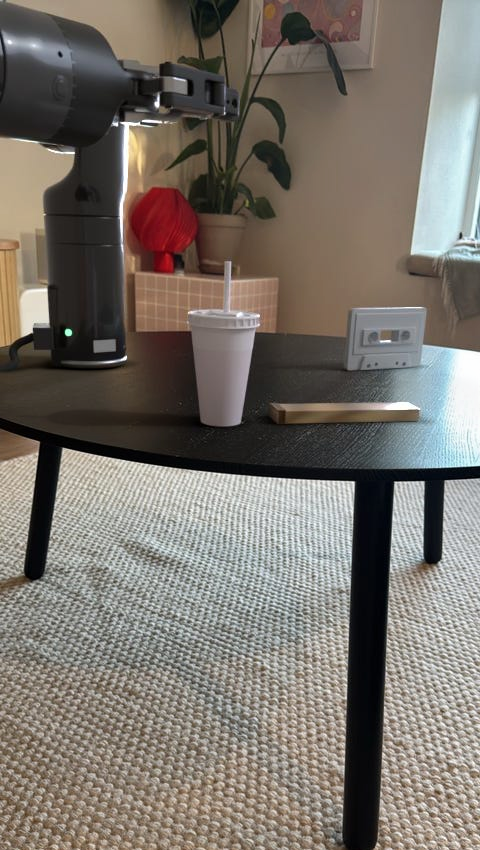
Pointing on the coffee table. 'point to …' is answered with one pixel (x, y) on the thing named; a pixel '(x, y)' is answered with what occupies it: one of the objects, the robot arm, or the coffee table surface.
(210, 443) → the coffee table surface
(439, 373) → the coffee table surface
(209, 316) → the smoothie
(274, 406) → the batten
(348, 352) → the cassette
